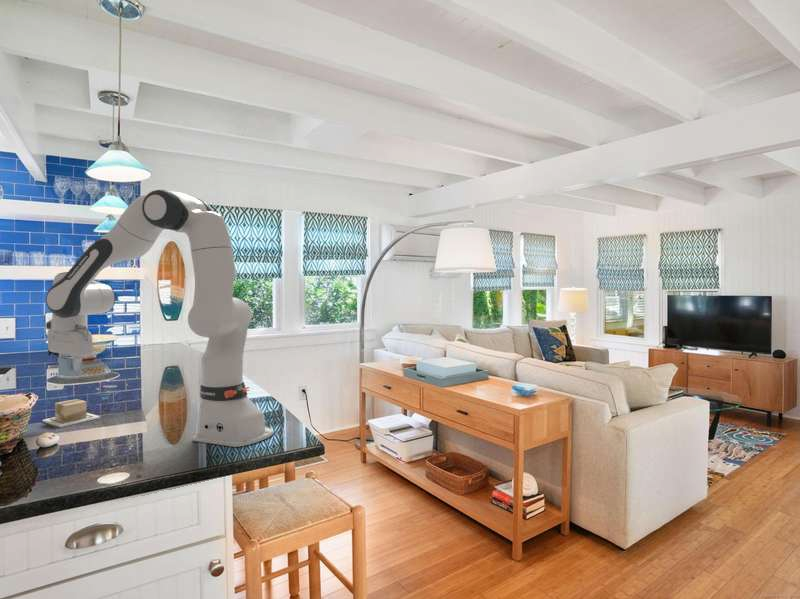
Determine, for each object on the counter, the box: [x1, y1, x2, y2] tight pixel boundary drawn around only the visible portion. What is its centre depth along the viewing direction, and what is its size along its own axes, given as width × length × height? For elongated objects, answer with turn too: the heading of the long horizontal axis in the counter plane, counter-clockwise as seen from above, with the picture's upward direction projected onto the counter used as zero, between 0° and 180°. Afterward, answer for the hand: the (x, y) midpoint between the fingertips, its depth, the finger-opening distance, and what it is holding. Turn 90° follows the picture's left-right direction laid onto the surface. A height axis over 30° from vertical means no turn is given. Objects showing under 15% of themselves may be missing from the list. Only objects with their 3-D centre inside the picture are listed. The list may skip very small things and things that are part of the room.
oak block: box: [54, 398, 88, 422], centre depth 142 cm, size 6×6×5 cm
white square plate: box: [42, 412, 101, 428], centre depth 143 cm, size 11×11×1 cm
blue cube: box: [57, 356, 84, 377], centre depth 142 cm, size 5×5×5 cm
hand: (70, 368), depth 142 cm, fingers closed on blue cube, 5 cm apart
